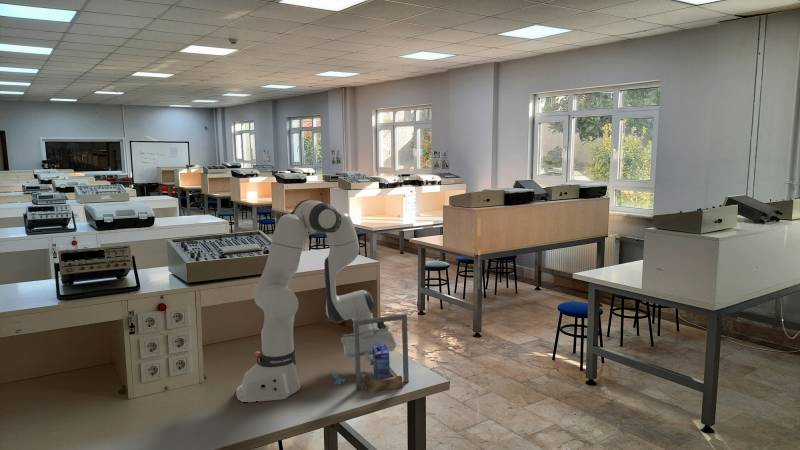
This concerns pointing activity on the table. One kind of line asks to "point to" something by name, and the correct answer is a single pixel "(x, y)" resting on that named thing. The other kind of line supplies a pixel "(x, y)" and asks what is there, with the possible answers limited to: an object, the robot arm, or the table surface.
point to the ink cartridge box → (381, 361)
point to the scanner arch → (380, 324)
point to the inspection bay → (382, 383)
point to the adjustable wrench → (338, 379)
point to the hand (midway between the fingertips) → (374, 364)
